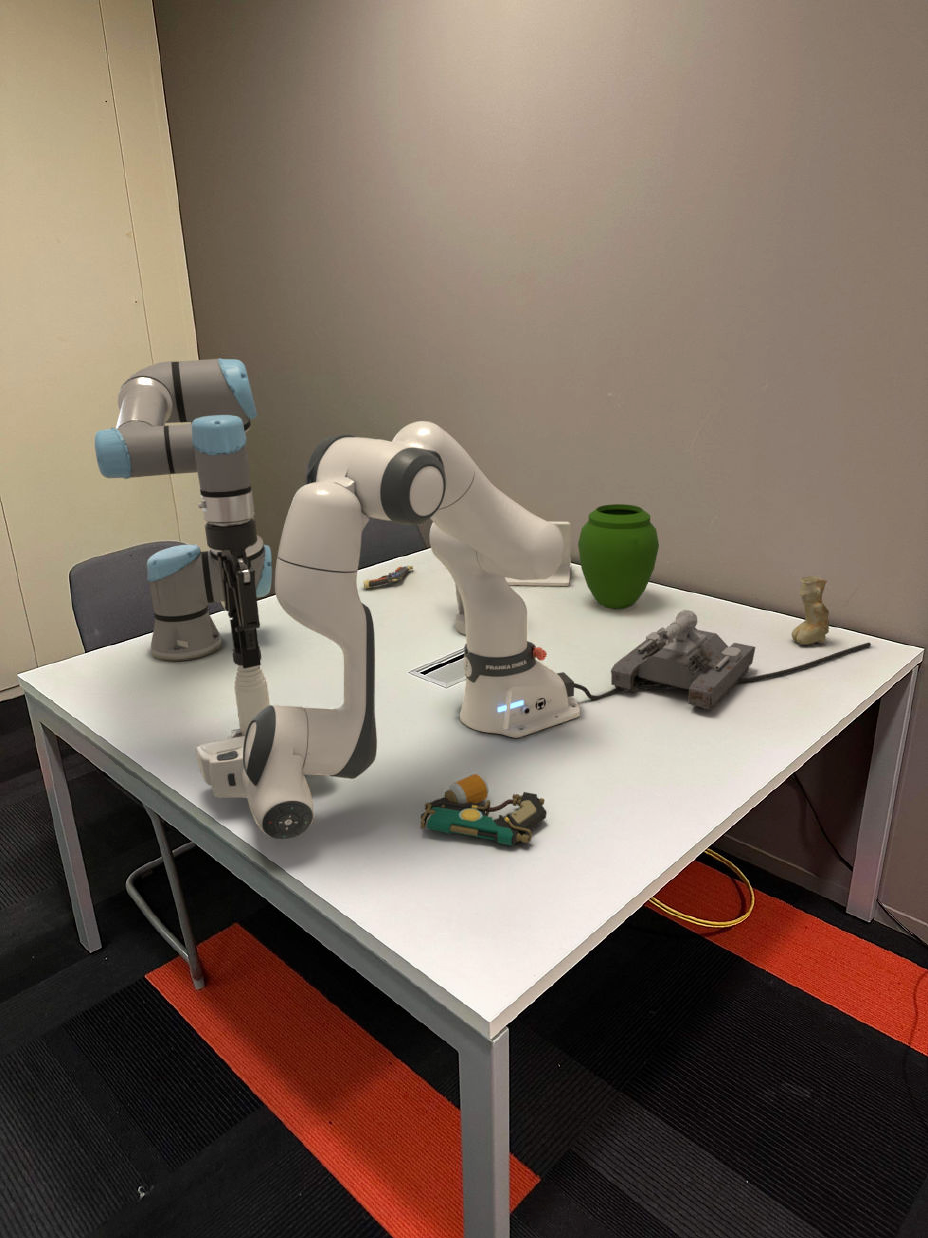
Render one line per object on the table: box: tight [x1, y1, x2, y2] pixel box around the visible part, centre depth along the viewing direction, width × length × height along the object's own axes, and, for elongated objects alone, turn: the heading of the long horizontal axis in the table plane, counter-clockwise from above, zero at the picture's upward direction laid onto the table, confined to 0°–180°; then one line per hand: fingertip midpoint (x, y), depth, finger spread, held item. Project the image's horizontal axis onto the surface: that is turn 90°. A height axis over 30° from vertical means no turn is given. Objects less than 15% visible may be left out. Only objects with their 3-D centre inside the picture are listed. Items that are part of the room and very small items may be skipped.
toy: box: [610, 609, 756, 711], centre depth 169 cm, size 25×20×15 cm
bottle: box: [234, 665, 271, 736], centre depth 141 cm, size 5×5×21 cm
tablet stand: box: [505, 521, 572, 587], centre depth 236 cm, size 18×25×17 cm
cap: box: [232, 646, 262, 666], centre depth 138 cm, size 4×4×2 cm
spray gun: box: [420, 773, 547, 846], centre depth 126 cm, size 4×17×15 cm
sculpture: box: [791, 575, 830, 646], centre depth 185 cm, size 6×7×15 cm
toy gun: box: [362, 565, 414, 589], centre depth 238 cm, size 3×19×10 cm
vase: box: [577, 503, 660, 610], centre depth 210 cm, size 20×20×24 cm
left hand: (247, 660), depth 138 cm, fingers closed on cap, 4 cm apart
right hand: (255, 729), depth 144 cm, fingers closed on bottle, 5 cm apart
